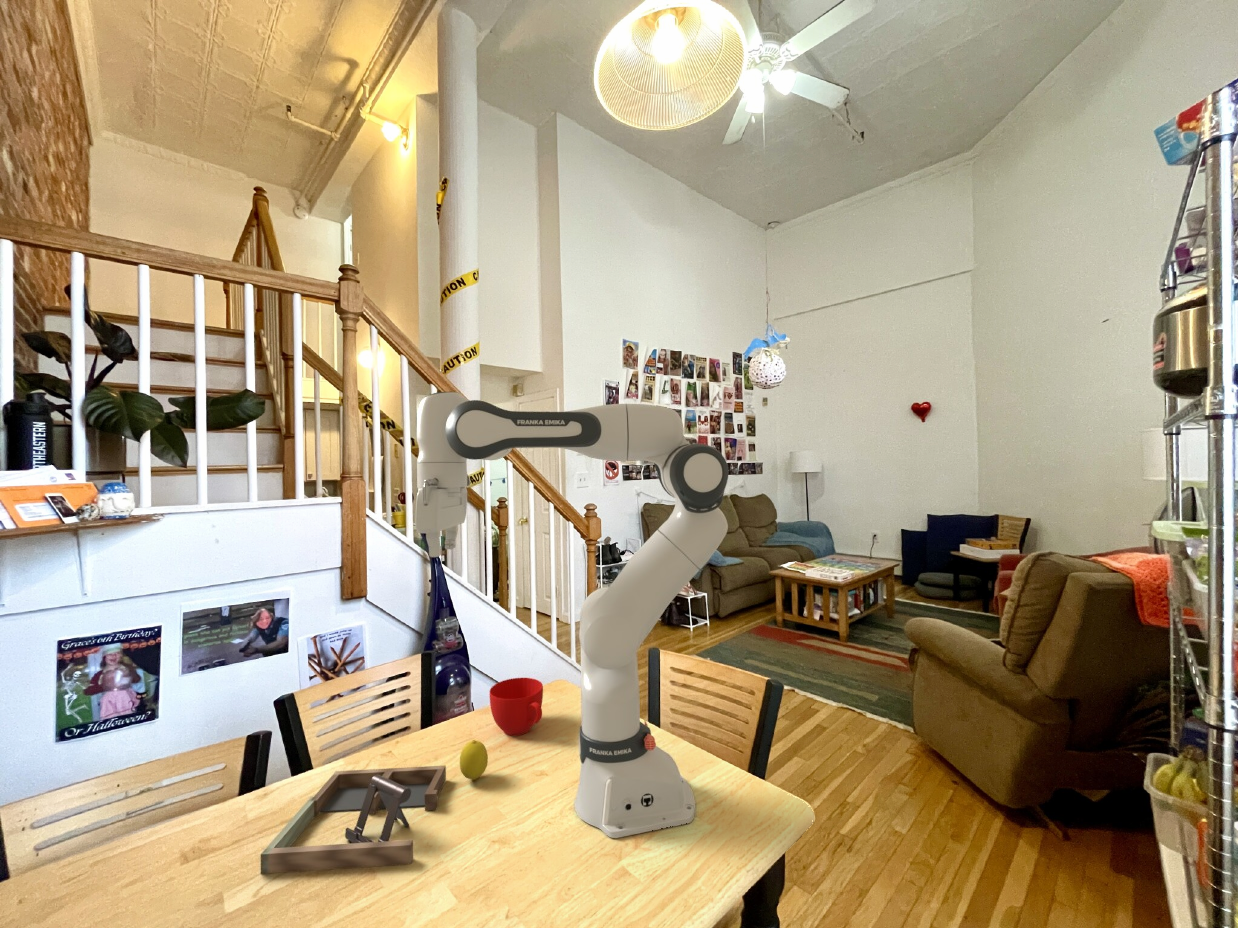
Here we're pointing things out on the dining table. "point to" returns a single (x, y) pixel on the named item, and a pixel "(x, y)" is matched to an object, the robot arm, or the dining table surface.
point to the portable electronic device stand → (391, 798)
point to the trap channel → (353, 854)
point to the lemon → (473, 760)
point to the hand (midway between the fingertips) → (443, 552)
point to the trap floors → (355, 795)
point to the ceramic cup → (516, 704)
